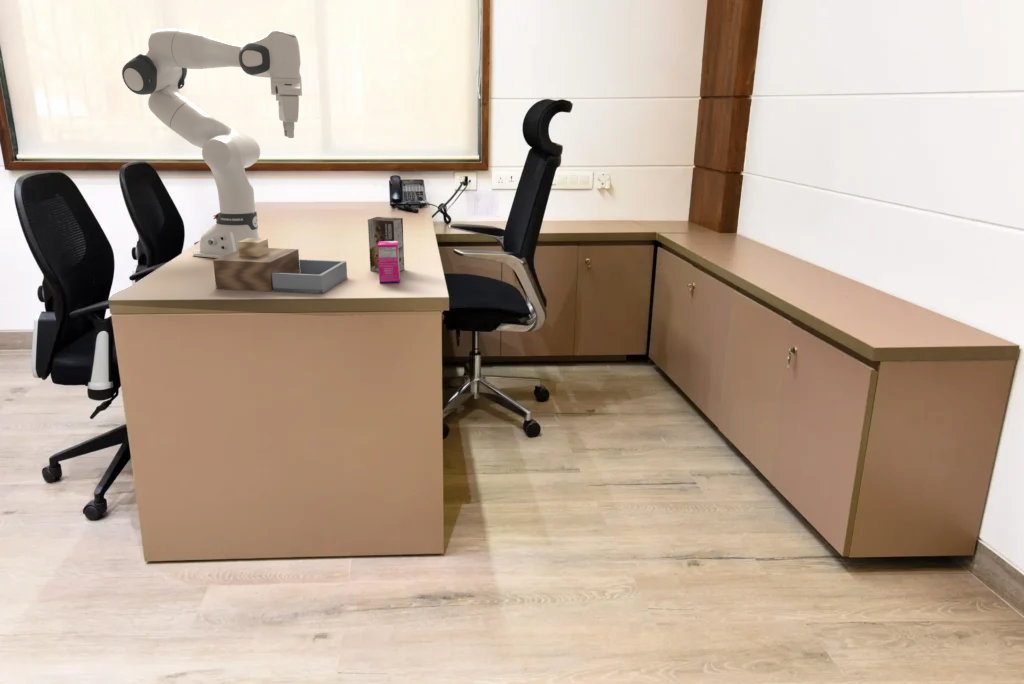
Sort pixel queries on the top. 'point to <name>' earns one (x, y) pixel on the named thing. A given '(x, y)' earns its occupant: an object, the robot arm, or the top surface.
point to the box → (311, 277)
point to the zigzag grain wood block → (254, 269)
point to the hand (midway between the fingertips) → (289, 137)
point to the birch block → (253, 247)
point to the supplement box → (388, 262)
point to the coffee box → (385, 238)
